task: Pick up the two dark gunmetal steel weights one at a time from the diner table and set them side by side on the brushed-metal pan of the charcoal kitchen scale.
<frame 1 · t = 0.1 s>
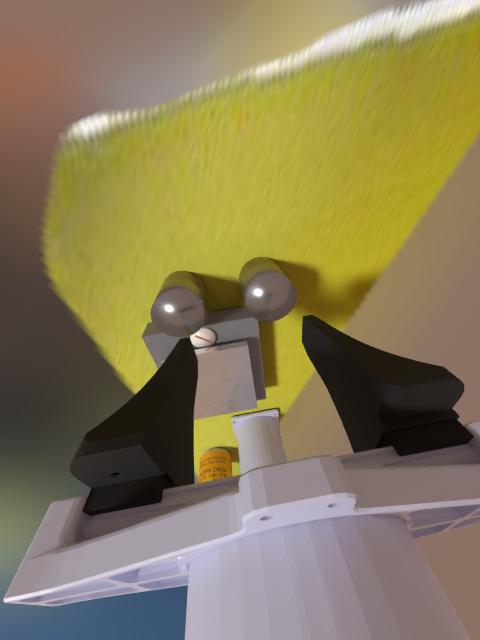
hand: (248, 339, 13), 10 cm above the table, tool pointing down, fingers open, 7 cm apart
beer can: (215, 453, 42), on the table
steel weight B: (184, 291, 22), on the table
steel weight A: (259, 278, 22), on the table
scale pan: (215, 384, 25), point 4 cm above the table, slide at 0.3 cm
scale base: (213, 355, 27), on the table
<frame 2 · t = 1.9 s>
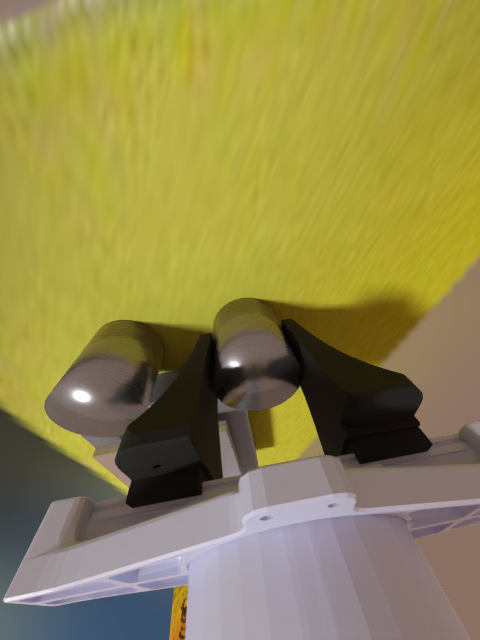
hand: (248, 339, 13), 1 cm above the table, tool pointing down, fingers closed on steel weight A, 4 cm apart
beer can: (200, 511, 34), on the table
steel weight B: (131, 346, 14), on the table
steel weight A: (245, 326, 14), on the table, touching gripper
scale pan: (184, 471, 17), point 4 cm above the table, slide at 0.3 cm
scale base: (184, 420, 20), on the table
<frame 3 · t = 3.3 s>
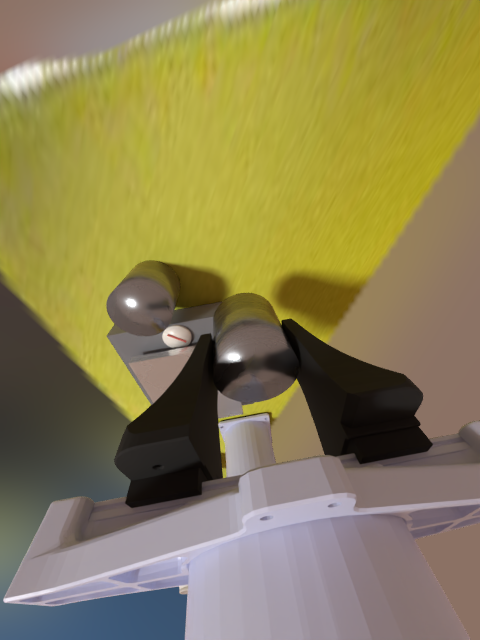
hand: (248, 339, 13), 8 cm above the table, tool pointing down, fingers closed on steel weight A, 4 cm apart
steel weight B: (155, 284, 19), on the table
steel weight A: (244, 321, 15), point 6 cm above the table, touching gripper
scale pan: (194, 389, 22), point 4 cm above the table, slide at 0.3 cm
scale base: (193, 356, 25), on the table
when the fingers open (7 cm above the table, at t = 4.9 s): steel weight A stays where it is, resting on scale pan.
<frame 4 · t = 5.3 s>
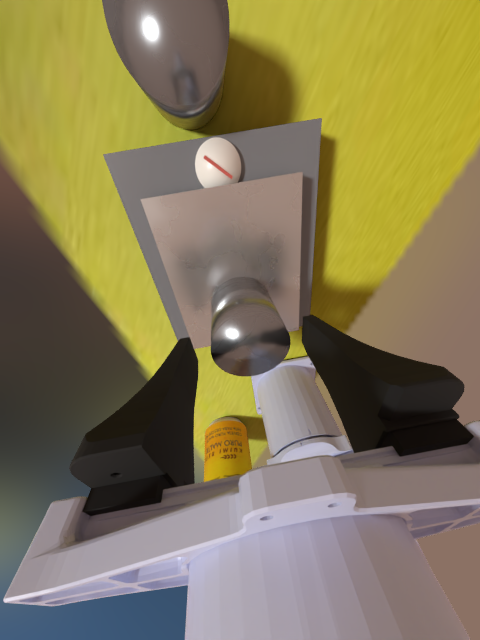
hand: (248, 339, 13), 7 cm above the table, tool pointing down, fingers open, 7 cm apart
beer can: (225, 425, 32), on the table
steel weight B: (184, 77, 12), on the table
steel weight A: (241, 304, 16), point 4 cm above the table, touching scale pan
scale pan: (236, 276, 15), point 3 cm above the table, slide at 0.5 cm, touching steel weight A
scale base: (229, 246, 17), on the table
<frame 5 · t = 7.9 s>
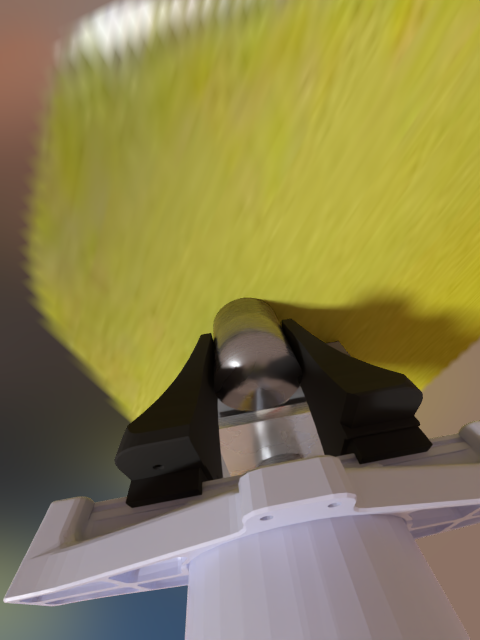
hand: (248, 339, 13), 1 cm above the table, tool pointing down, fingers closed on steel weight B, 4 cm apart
steel weight B: (245, 326, 14), on the table, touching gripper
scale pan: (278, 449, 18), point 3 cm above the table, slide at 0.5 cm, touching steel weight A
scale base: (268, 404, 20), on the table
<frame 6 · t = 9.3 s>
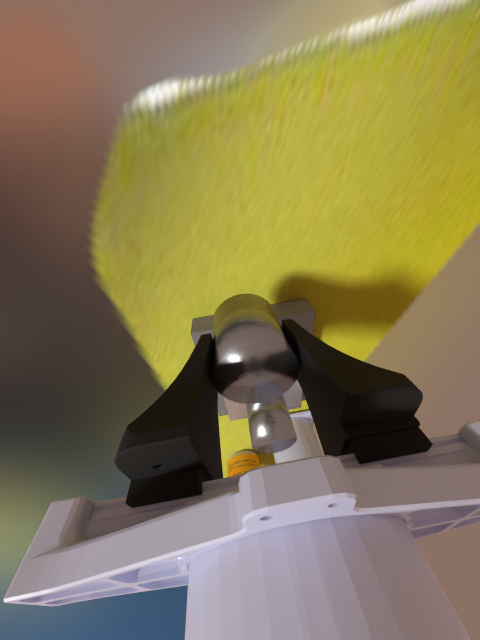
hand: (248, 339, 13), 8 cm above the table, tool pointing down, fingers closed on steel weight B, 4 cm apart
beer can: (242, 455, 40), on the table
steel weight B: (244, 322, 15), point 7 cm above the table, touching gripper
steel weight A: (264, 397, 24), point 4 cm above the table, touching scale pan
scale pan: (261, 383, 23), point 3 cm above the table, slide at 0.5 cm, touching steel weight A
scale base: (255, 353, 25), on the table
when the fingers open (7 cm above the table, at t = 10.6 s): steel weight B drops 1 cm, resting on scale pan.
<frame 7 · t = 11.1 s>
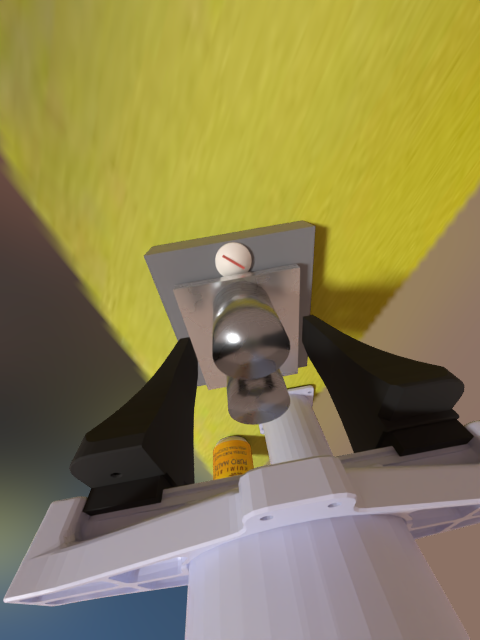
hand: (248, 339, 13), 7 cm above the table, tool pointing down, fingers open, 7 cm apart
beer can: (231, 442, 35), on the table
steel weight B: (241, 308, 16), point 4 cm above the table, touching scale pan
steel weight A: (249, 356, 19), point 4 cm above the table, touching scale pan
scale pan: (245, 336, 18), point 3 cm above the table, slide at 0.6 cm, touching steel weight A, steel weight B
scale base: (239, 304, 20), on the table
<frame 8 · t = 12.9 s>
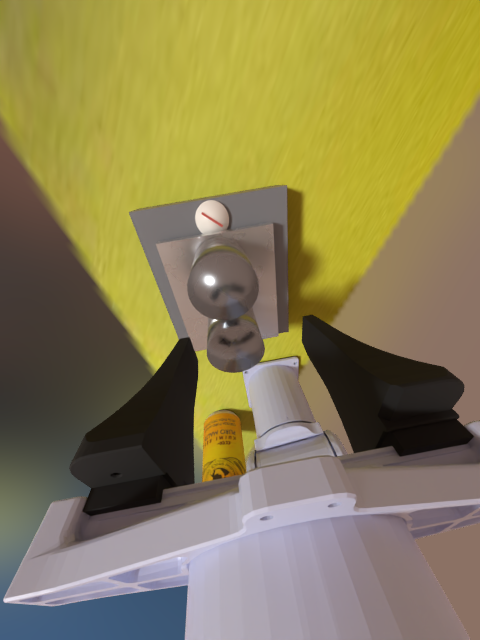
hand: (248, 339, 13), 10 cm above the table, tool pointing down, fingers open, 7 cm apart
beer can: (222, 417, 36), on the table
steel weight B: (221, 265, 17), point 4 cm above the table, touching scale pan
steel weight A: (231, 316, 20), point 4 cm above the table, touching scale pan
scale pan: (227, 295, 19), point 3 cm above the table, slide at 0.6 cm, touching steel weight A, steel weight B
scale base: (222, 269, 21), on the table
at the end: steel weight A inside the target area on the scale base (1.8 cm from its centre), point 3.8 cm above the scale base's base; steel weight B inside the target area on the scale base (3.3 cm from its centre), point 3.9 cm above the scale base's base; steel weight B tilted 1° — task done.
